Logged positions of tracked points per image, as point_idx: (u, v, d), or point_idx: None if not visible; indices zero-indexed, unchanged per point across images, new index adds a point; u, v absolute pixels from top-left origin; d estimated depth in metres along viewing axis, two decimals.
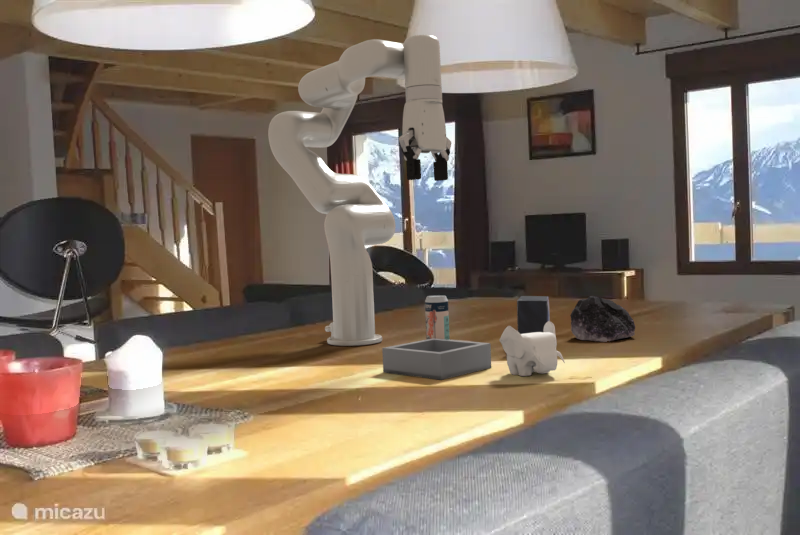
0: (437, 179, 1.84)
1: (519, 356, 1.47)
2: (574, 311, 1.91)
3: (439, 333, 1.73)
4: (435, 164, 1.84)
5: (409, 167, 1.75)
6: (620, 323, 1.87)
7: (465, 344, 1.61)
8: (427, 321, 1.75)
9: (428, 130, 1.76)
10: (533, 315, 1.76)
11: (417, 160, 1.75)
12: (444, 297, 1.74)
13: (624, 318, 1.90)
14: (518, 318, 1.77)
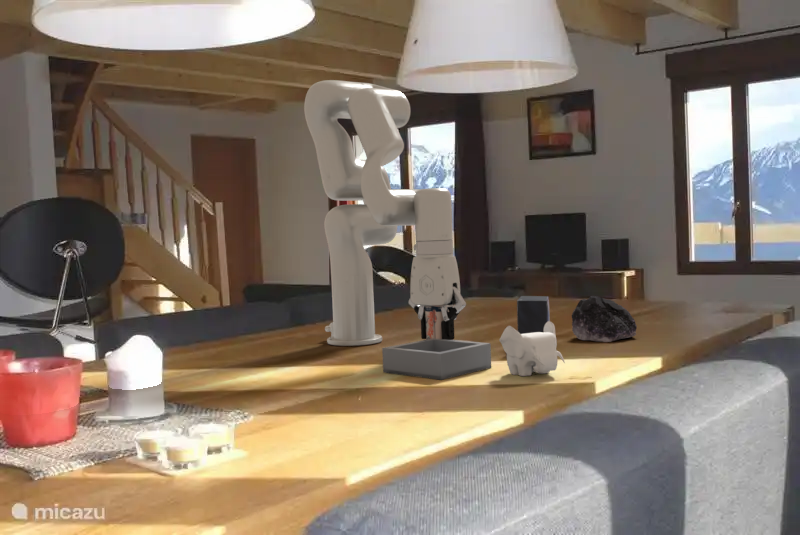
0: None
1: (519, 356, 1.47)
2: (575, 311, 1.91)
3: (439, 333, 1.73)
4: (425, 322, 1.77)
5: (450, 328, 1.73)
6: (621, 323, 1.87)
7: (465, 344, 1.61)
8: (427, 321, 1.75)
9: None
10: (533, 315, 1.76)
11: None
12: None
13: (625, 318, 1.90)
14: (518, 318, 1.77)
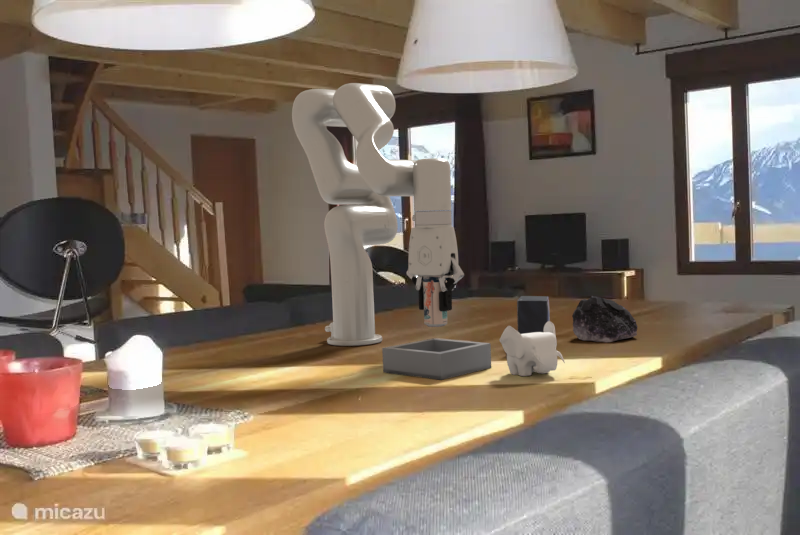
0: None
1: (519, 356, 1.47)
2: (576, 311, 1.90)
3: (437, 304, 1.73)
4: None
5: (448, 298, 1.73)
6: (622, 323, 1.87)
7: (465, 344, 1.61)
8: (425, 292, 1.74)
9: None
10: (533, 315, 1.76)
11: None
12: None
13: (626, 318, 1.89)
14: (518, 318, 1.77)
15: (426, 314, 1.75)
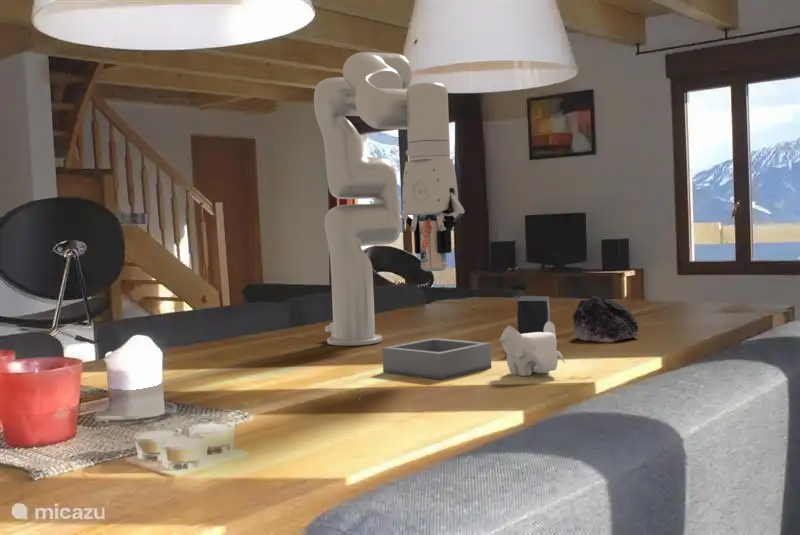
0: None
1: (519, 356, 1.47)
2: (577, 311, 1.90)
3: (434, 245, 1.55)
4: (419, 234, 1.58)
5: (447, 239, 1.55)
6: (623, 323, 1.86)
7: (465, 344, 1.61)
8: (421, 232, 1.56)
9: None
10: (533, 315, 1.76)
11: None
12: None
13: (627, 318, 1.89)
14: (518, 318, 1.77)
15: (423, 257, 1.56)
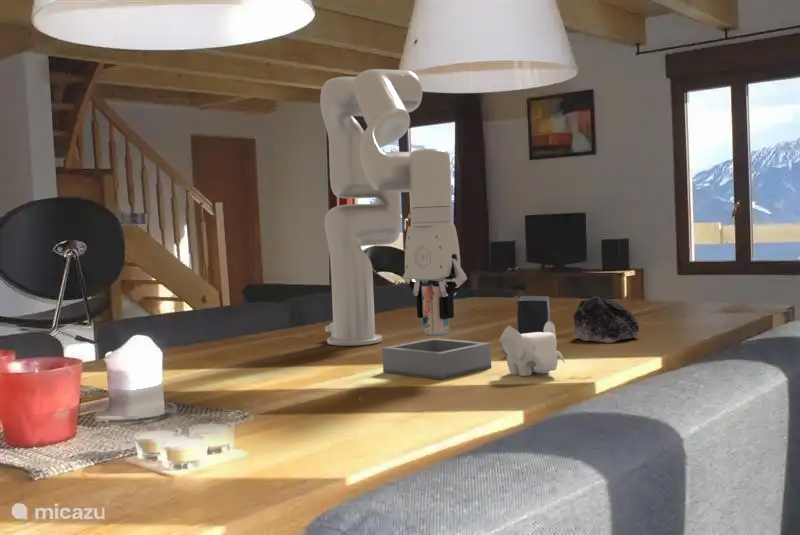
0: None
1: (519, 356, 1.47)
2: (577, 312, 1.90)
3: (437, 310, 1.55)
4: (421, 299, 1.59)
5: (449, 305, 1.55)
6: (624, 324, 1.86)
7: (465, 344, 1.61)
8: (423, 297, 1.56)
9: None
10: (533, 315, 1.76)
11: None
12: None
13: (627, 318, 1.89)
14: (518, 318, 1.77)
15: (425, 322, 1.57)
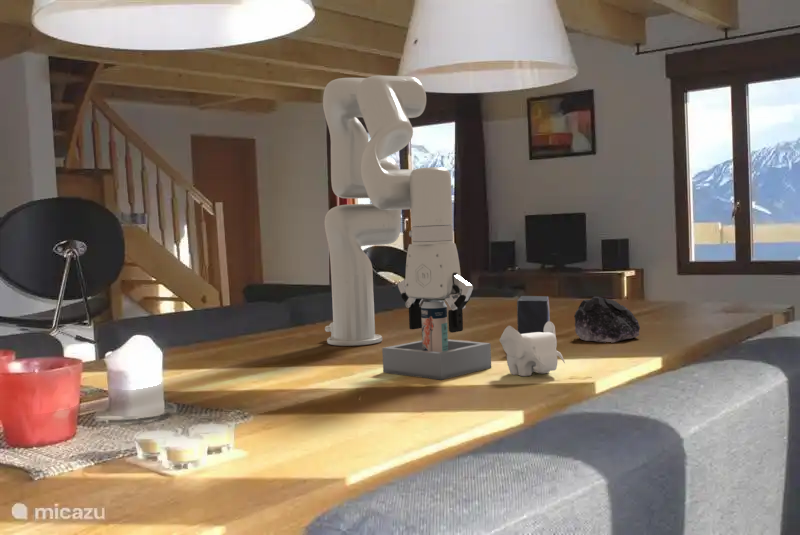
0: (415, 327, 1.61)
1: (519, 356, 1.47)
2: (578, 312, 1.89)
3: (436, 342, 1.56)
4: (413, 310, 1.60)
5: (458, 318, 1.54)
6: (625, 324, 1.86)
7: (465, 344, 1.61)
8: (423, 329, 1.57)
9: None
10: (533, 315, 1.76)
11: None
12: (442, 302, 1.57)
13: (628, 318, 1.89)
14: (518, 318, 1.77)
15: None
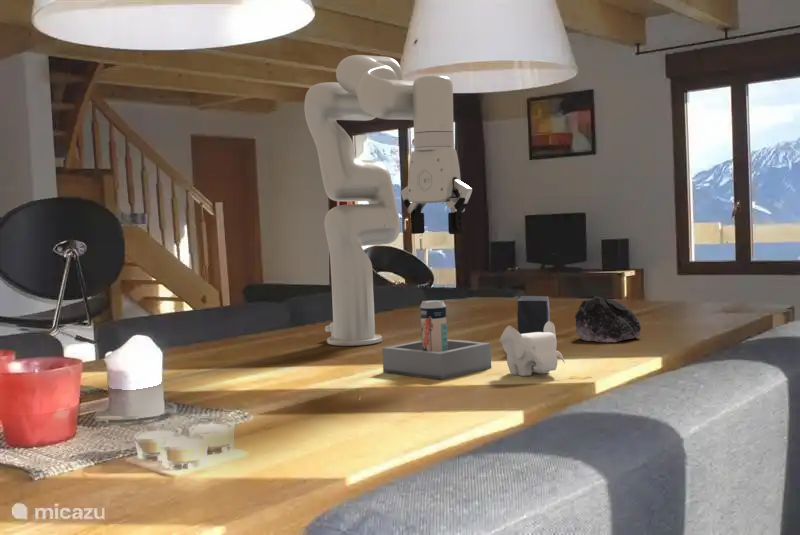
0: (416, 232, 1.67)
1: (519, 356, 1.47)
2: (579, 312, 1.89)
3: (435, 342, 1.56)
4: (415, 216, 1.67)
5: (458, 220, 1.60)
6: (626, 324, 1.86)
7: (465, 344, 1.61)
8: (422, 329, 1.57)
9: None
10: (533, 315, 1.76)
11: None
12: (441, 302, 1.57)
13: (629, 318, 1.89)
14: (518, 318, 1.77)
15: None
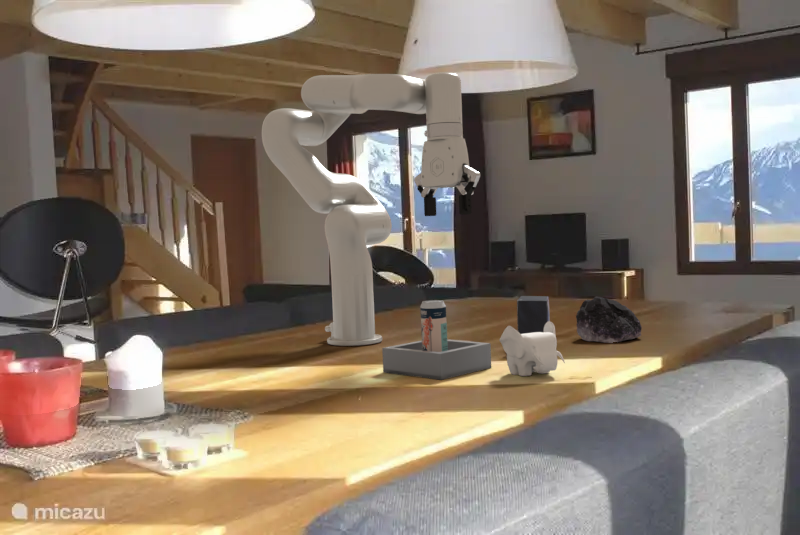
0: (429, 214, 1.85)
1: (519, 356, 1.47)
2: (580, 312, 1.89)
3: (435, 342, 1.56)
4: (428, 199, 1.85)
5: (467, 202, 1.78)
6: (627, 324, 1.85)
7: (465, 344, 1.61)
8: (422, 329, 1.57)
9: None
10: (533, 315, 1.76)
11: None
12: (441, 302, 1.57)
13: (630, 319, 1.88)
14: (518, 318, 1.77)
15: None
